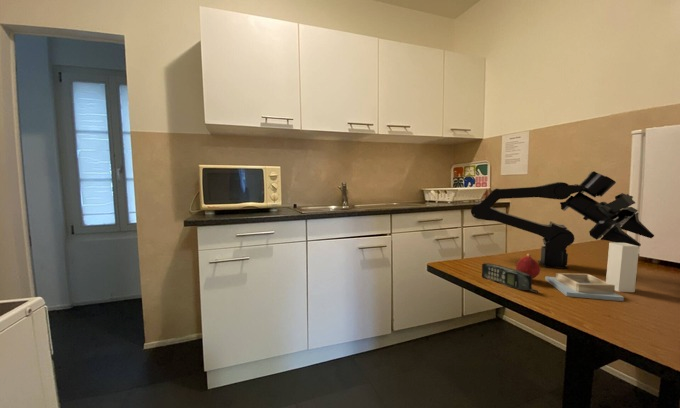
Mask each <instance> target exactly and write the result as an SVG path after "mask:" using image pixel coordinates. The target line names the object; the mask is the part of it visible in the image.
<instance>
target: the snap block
mask: <svg viewBox="0 0 680 408" xmlns="http://www.w3.org/2000/svg"><path fill="white" fill-rule="evenodd" d="M639 250H640V246H636V245H632V244H628V243H616V242H609V243H608V254H607V263H606V264H607V266H606V277H605V281H606V282H608V283H610V284H613V285H615V289H614V291H616V292H620V293H635V291H636V280H637V274H638V273H637V271H638V261H639V254H640V253H639Z"/></svg>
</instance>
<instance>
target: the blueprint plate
mask: <svg viewBox="0 0 680 408" xmlns="http://www.w3.org/2000/svg"><path fill="white" fill-rule="evenodd" d="M545 281H546V282H548V283H549V284H550V285H551V286H553V287H554V288H555V289H557V290H558V291H559V292H561V293H562V294H563V295H564V296H566V297H572V298H582V299H583V298H584V299H594V300H604V301H605V300H606V301H607V300H608V301H617V302H618V301H619V302H624V298H625V296H622V295H620V294H619V293H617V292H615V291H614V293H596V292H577V291H576V290H574V289H572V288H570V287H568V286H566V285H564V284H562V283H561V282H559V281H557V280H556V276H547V275H546V276H545ZM576 282H578V283H582V284H591V283H588V282H582V281H576Z"/></svg>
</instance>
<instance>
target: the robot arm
mask: <svg viewBox="0 0 680 408" xmlns="http://www.w3.org/2000/svg"><path fill="white" fill-rule="evenodd" d="M616 184H617V182H616V181H615V180H614V179H612V178H611V177H609V176H605V175H604V174H601V173H599V172H596V171H593V170H592V171H591V172H589V174H588V175H587V177H586V178H585V179H584V180H583V181H582V182H581V183H580V184H578V183H574V184H568V183H567V182H562V181H556V182H551V183H547V184H541V185H537V186H528V187H512V188H508V187H507V188H494V189H492V191H490V194H488V195H487V196H486V197H485V198H484V199H483V200H482V201H481V202H477V203H475V204H474V205H473V206H472V207H471V209H470V214H471V216H472V217H473V218H474V219H476V220H483V221H492V222H497V223H501V224H503V225H506V226H510V227H513V228H515V229H519V230H523V231H525V232H529V233H532V234H535V235H538V236H540V237H541V238H542V242H543V245H542V246H541V250H540V260H538V261H537V263H538V264H541V265H542V266H544V267H545V268H552V269H554V268H555V269H569V267H568V259H569V257H568V256H569V254H568V253H567V248H568V246H571V245H572V244H574V242H575V235H574V234H573V232H572V231H571V230H570V229H568V227H567V226H565V224H558V223H556V222H553V221H549V224H543V223H540V222H537V221H532V220H530V219H525V218H523V217H520V216H516V215H513V214H509V213H506V212H503V211H500V210H498V209H496V208H494V207H493V206H494V205H495V204H496V203H497V202H498V201H499V200H505V199H527V198H539V199H540V198H542V199H550V200H551V199H552V200H561V202H559V204H560V209H561V210H562V211H564V212H565V211H567V210H568V209H571V210H573V211H575V212H576V213H578V214H580V215H581V216H583V218H582V219H583V220H584V221H588V220H589V221H591V222H593V223H594V224H595V225H594V226H593V227H592V228H591V229H590V230H589V231H588V232H589V236H590V237H591V238H593V239H595V240H596V241H598V240H599V239H600V240H601V241H607V242H611V243H628V244H632V245H636V246H639V247H641V246H642V244H641V243H640V242H639V241H638V240H636V239H635V238H633V237H632V236H630V234H628V233H627V232H629V233H633V234H636V235H639V236H642V237H645V238H648V239H653V238H654V237H655V234H654V233H653V232H651V231H650V230H649V229H648V228H647V227H646V226H645V225H644V224H643V223H642V222H641V220H640V219H639V210H638V209H637V208H634V207H632V205H635V204H636V202H635V201H634V196H632V195H629V193H627V194H626V193H623V192H621V193H619V194H617V195H615V196H614V198H615V200H613V201H610V202H608V203H607V202H606V201H600V202H599V201H597V200H595V199H593V198H596V197H600V198H602V197H603V196H604V195H605V194H606V193H607V192H609V190H610V189H612V187H613V186H614V185H616ZM584 193H585V194H584ZM573 194H574V195H573ZM589 196H590V197H589ZM562 200H565V201H562ZM625 231H626V232H625Z"/></svg>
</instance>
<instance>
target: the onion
mask: <svg viewBox="0 0 680 408" xmlns="http://www.w3.org/2000/svg"><path fill="white" fill-rule="evenodd" d="M515 270H518V271H521V272H524V273H527V274H529V275H530V276H531V278H532V280H533V279H535V278H536V277H537V276H538V275H539V274H540V271H541V270H540V265H539V262H538V261H537V260H535V259H534V258H533V257H532V256H531V254H530V253H527V254H526V255H525V256H524V257H522V258H520V259H519V260H518V261H517V262H516V268H515Z"/></svg>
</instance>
